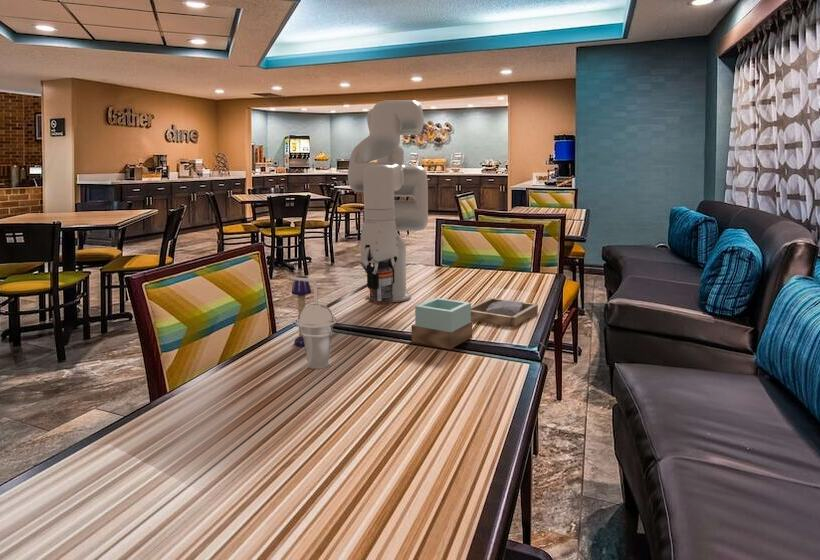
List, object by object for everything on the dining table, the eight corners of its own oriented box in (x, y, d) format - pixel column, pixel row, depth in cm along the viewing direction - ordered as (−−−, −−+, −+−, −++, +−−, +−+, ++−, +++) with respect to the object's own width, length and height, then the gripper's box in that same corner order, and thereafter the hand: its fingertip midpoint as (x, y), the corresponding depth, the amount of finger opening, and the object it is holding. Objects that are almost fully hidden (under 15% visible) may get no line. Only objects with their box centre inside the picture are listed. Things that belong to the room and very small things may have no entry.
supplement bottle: (367, 300, 142) (366, 258, 139) (389, 298, 144) (388, 256, 141) (373, 306, 136) (372, 262, 134) (396, 304, 138) (395, 260, 136)
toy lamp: (295, 340, 135) (291, 275, 132) (314, 340, 135) (311, 274, 132) (293, 347, 130) (289, 279, 127) (312, 346, 131) (309, 278, 127)
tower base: (411, 342, 134) (411, 325, 133) (434, 331, 143) (434, 315, 142) (450, 350, 128) (450, 332, 127) (472, 338, 137) (472, 321, 136)
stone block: (485, 326, 152) (521, 322, 149) (482, 310, 152) (518, 305, 149) (492, 317, 164) (525, 312, 160) (489, 301, 163) (522, 297, 160)
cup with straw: (331, 373, 114) (327, 279, 109) (290, 371, 115) (285, 278, 111) (342, 359, 122) (339, 271, 118) (304, 357, 123) (300, 270, 119)
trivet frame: (463, 318, 153) (463, 310, 153) (490, 305, 167) (490, 297, 167) (514, 327, 145) (514, 318, 144) (538, 312, 159) (538, 304, 158)
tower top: (415, 325, 133) (415, 306, 132) (436, 316, 141) (436, 297, 140) (451, 332, 127) (451, 311, 126) (470, 322, 135) (470, 302, 134)
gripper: (387, 210, 143) (389, 277, 148) (345, 218, 130) (347, 291, 134) (411, 212, 139) (412, 280, 144) (369, 220, 126) (371, 295, 130)
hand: (381, 285), depth 139 cm, fingers closed on supplement bottle, 6 cm apart
